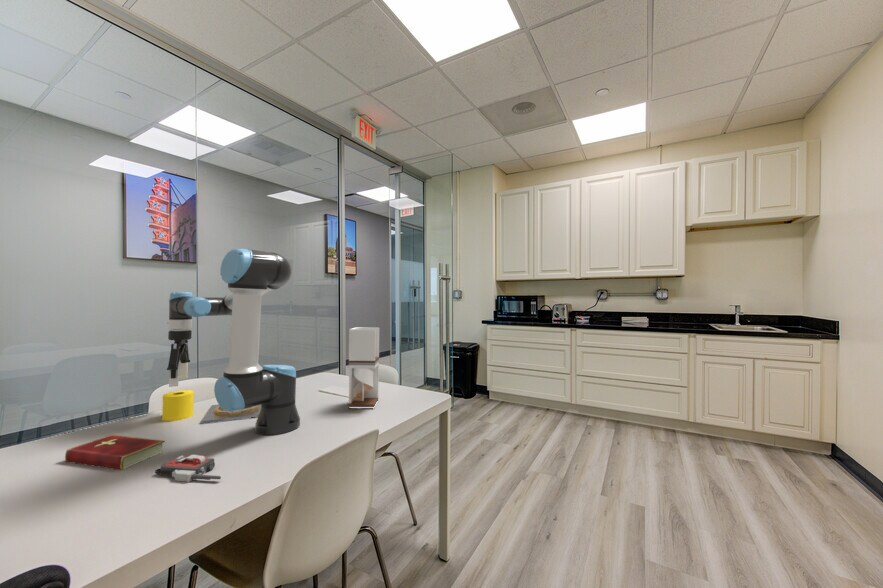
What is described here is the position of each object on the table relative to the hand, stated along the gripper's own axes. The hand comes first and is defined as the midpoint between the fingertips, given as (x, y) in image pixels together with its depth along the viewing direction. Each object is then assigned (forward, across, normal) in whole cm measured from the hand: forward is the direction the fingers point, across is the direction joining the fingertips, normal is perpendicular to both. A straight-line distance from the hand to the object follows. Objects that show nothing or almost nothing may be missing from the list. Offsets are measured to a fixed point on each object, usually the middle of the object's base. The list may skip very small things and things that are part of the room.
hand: (178, 382), depth 140 cm
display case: (+13, +13, +72) cm, 75 cm away
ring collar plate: (+14, +2, +21) cm, 25 cm away
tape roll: (+14, 0, 0) cm, 14 cm away
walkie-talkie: (+14, +57, +17) cm, 61 cm away
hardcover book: (+14, +36, -7) cm, 39 cm away
